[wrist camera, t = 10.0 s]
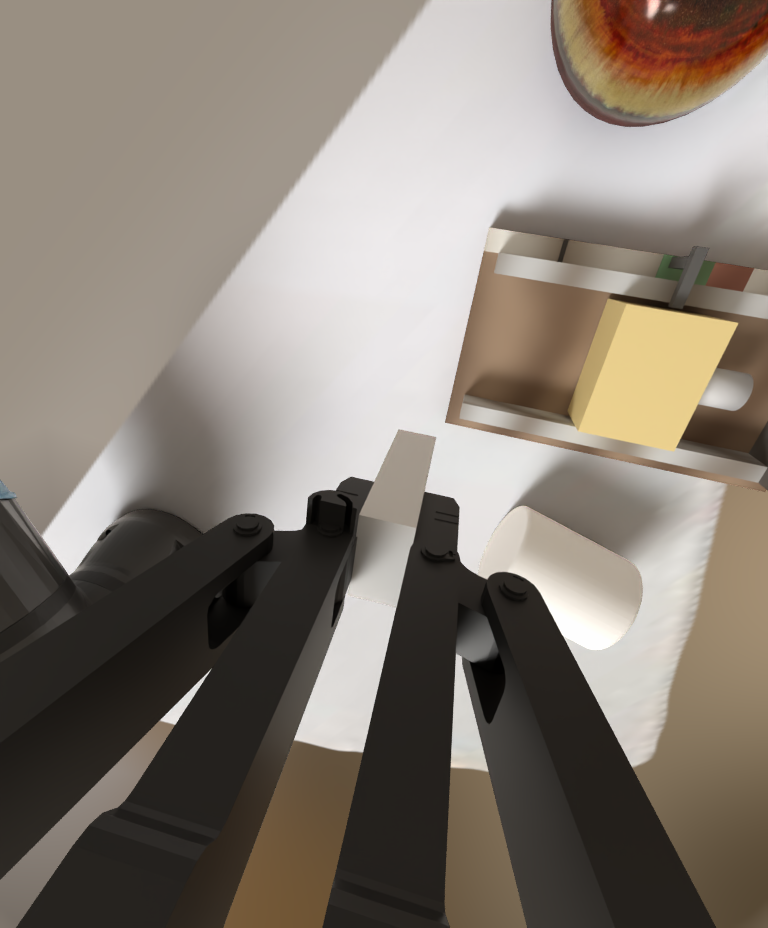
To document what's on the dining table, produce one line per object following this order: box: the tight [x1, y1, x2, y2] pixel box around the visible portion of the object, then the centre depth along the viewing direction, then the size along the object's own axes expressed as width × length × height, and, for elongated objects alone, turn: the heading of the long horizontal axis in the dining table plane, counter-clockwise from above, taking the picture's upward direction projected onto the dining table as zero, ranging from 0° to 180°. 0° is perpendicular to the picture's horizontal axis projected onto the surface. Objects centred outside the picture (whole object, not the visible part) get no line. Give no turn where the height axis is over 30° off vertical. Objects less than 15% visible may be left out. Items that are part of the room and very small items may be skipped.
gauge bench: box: [445, 227, 768, 492], centre depth 28 cm, size 24×14×7 cm, turn 81°
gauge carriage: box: [568, 246, 753, 452], centre depth 27 cm, size 9×11×4 cm
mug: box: [478, 506, 643, 650], centre depth 36 cm, size 12×10×8 cm
